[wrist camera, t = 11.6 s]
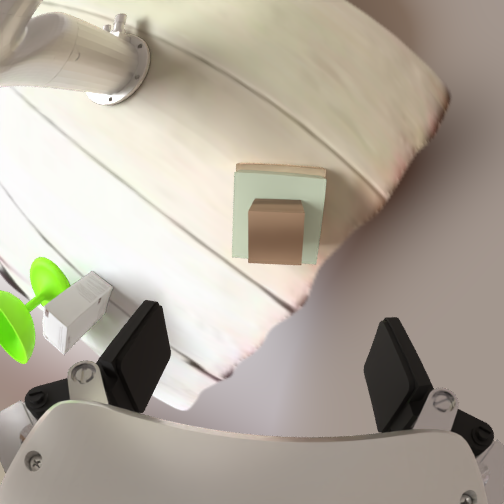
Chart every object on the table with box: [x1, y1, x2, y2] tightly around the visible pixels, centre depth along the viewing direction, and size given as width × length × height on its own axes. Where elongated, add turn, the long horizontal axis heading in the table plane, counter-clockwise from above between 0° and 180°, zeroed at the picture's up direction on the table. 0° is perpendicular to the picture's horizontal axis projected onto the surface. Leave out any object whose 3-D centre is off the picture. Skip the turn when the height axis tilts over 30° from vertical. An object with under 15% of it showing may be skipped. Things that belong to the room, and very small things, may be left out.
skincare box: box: [42, 271, 113, 355], centre depth 40 cm, size 8×6×15 cm
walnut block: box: [248, 198, 305, 265], centre depth 27 cm, size 5×5×6 cm
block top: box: [232, 170, 327, 264], centre depth 32 cm, size 10×10×4 cm
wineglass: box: [0, 257, 70, 364], centre depth 41 cm, size 16×16×18 cm
